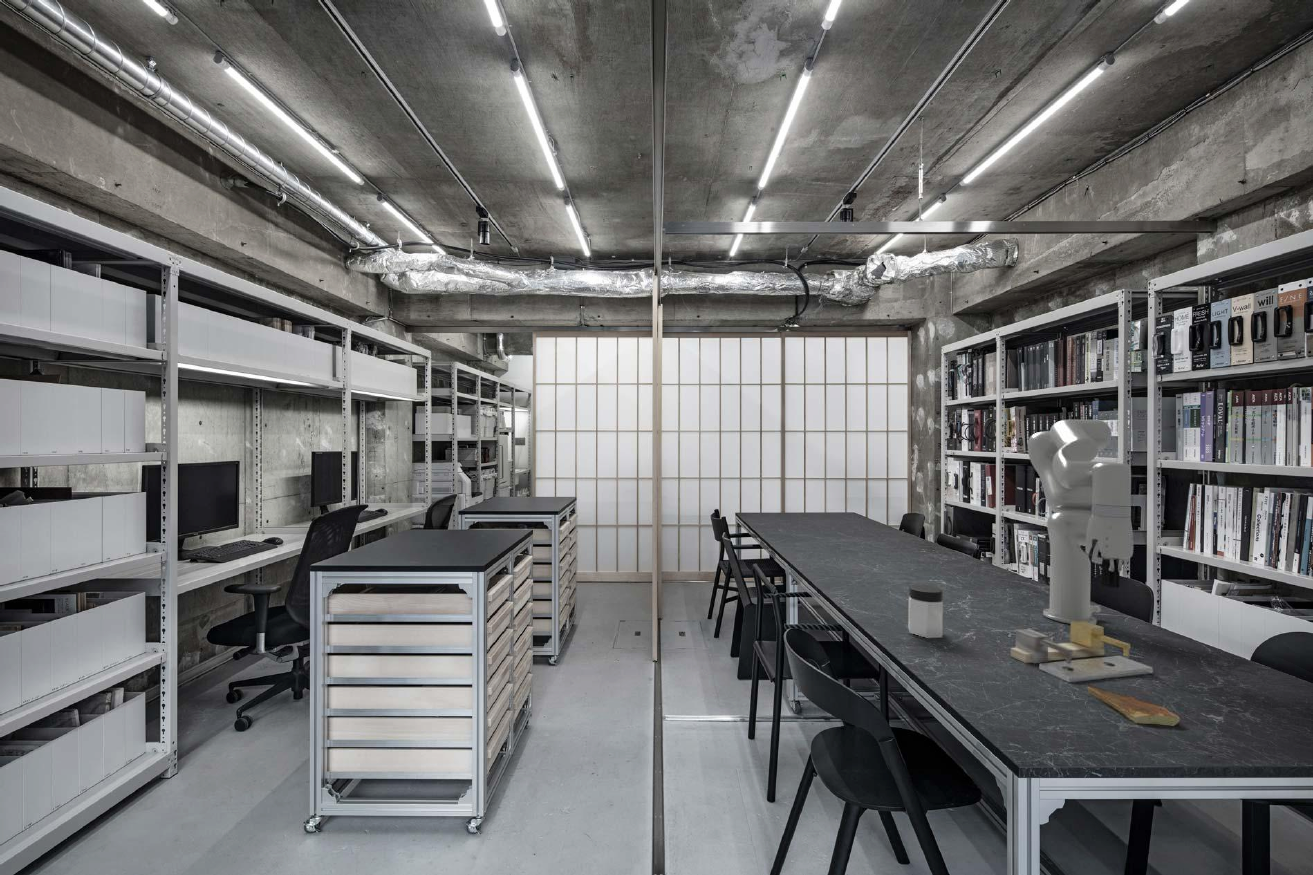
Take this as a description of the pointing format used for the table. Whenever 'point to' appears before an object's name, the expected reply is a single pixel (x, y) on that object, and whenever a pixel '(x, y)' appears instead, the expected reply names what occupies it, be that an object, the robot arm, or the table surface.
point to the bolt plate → (1095, 668)
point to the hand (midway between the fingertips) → (1110, 586)
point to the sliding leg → (1094, 636)
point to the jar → (925, 611)
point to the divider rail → (1048, 648)
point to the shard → (1135, 708)
